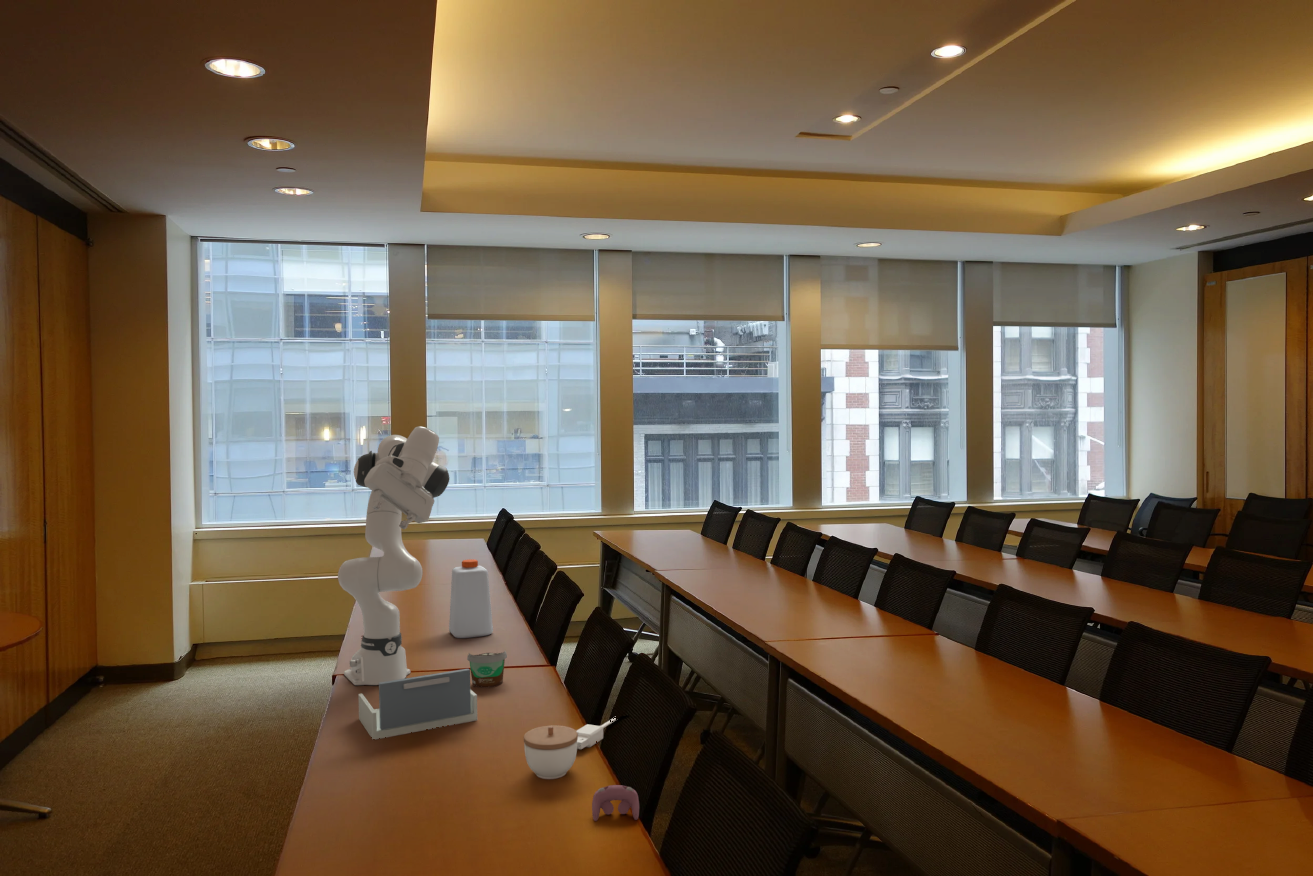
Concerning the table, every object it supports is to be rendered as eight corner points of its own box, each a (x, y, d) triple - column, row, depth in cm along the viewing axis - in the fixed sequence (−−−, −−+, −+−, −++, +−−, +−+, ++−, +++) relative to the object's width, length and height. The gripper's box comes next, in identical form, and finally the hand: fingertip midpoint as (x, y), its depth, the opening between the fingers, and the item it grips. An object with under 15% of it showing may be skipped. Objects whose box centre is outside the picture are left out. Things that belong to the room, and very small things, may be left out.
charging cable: (638, 716, 249) (638, 704, 249) (582, 753, 219) (582, 739, 219) (622, 714, 251) (622, 702, 251) (565, 750, 221) (565, 736, 221)
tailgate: (379, 728, 231) (378, 682, 231) (469, 711, 243) (468, 668, 243) (381, 730, 229) (380, 685, 229) (471, 714, 241) (470, 670, 241)
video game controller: (639, 820, 187) (638, 785, 190) (639, 820, 182) (638, 783, 185) (592, 821, 186) (592, 786, 189) (591, 821, 182) (591, 784, 185)
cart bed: (358, 719, 245) (358, 694, 245) (457, 701, 259) (457, 678, 259) (372, 739, 230) (372, 713, 229) (477, 720, 243) (477, 695, 243)
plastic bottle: (447, 631, 343) (445, 559, 342) (485, 626, 349) (484, 556, 348) (455, 640, 329) (454, 565, 328) (495, 635, 335) (494, 561, 334)
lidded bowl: (528, 787, 200) (527, 739, 199) (520, 766, 212) (520, 720, 212) (583, 780, 203) (582, 732, 203) (572, 759, 215) (572, 714, 215)
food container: (468, 690, 269) (468, 658, 269) (467, 684, 275) (466, 652, 275) (509, 686, 273) (509, 654, 272) (507, 681, 279) (506, 649, 278)
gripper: (428, 500, 248) (411, 541, 239) (372, 458, 237) (351, 499, 228) (443, 494, 244) (426, 536, 236) (386, 451, 233) (366, 494, 224)
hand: (389, 518), depth 232 cm, fingers open, 8 cm apart
